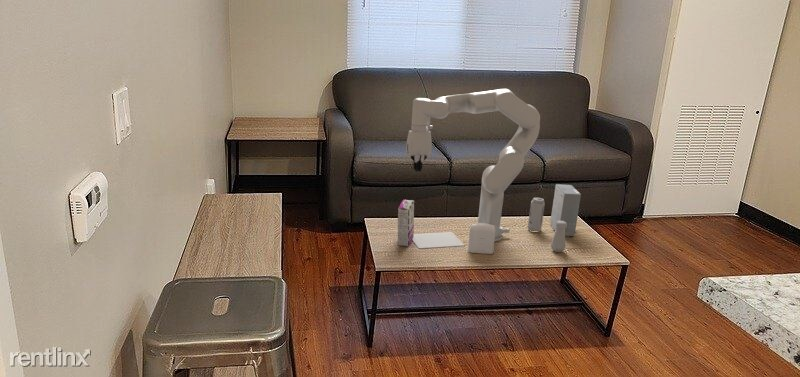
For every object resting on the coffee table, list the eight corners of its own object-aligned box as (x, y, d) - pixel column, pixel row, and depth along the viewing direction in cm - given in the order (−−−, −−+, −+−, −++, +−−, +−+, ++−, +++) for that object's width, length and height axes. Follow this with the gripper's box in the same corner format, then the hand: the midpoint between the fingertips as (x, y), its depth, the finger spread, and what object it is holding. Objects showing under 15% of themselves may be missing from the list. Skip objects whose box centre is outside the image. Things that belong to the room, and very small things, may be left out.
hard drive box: (574, 237, 252) (581, 194, 246) (557, 236, 252) (564, 193, 246) (565, 225, 266) (571, 184, 261) (549, 224, 266) (555, 183, 261)
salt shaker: (547, 249, 237) (551, 219, 233) (558, 247, 239) (562, 218, 235) (556, 254, 232) (560, 224, 228) (567, 252, 234) (572, 223, 230)
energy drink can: (527, 227, 260) (531, 196, 256) (540, 228, 259) (545, 197, 255) (527, 231, 255) (531, 200, 250) (541, 233, 254) (545, 201, 249)
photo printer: (468, 253, 228) (471, 224, 224) (467, 249, 232) (470, 220, 228) (493, 255, 228) (497, 226, 224) (492, 250, 232) (495, 222, 228)
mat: (451, 232, 249) (451, 231, 249) (464, 245, 235) (464, 245, 235) (408, 234, 243) (408, 234, 243) (418, 248, 229) (418, 248, 229)
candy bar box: (402, 235, 241) (403, 199, 236) (413, 236, 240) (414, 200, 235) (396, 245, 231) (397, 207, 226) (408, 247, 230) (409, 209, 225)
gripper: (434, 126, 241) (431, 168, 246) (400, 126, 237) (397, 168, 242) (440, 130, 234) (437, 172, 240) (405, 130, 230) (402, 173, 235)
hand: (417, 170), depth 241 cm, fingers closed
